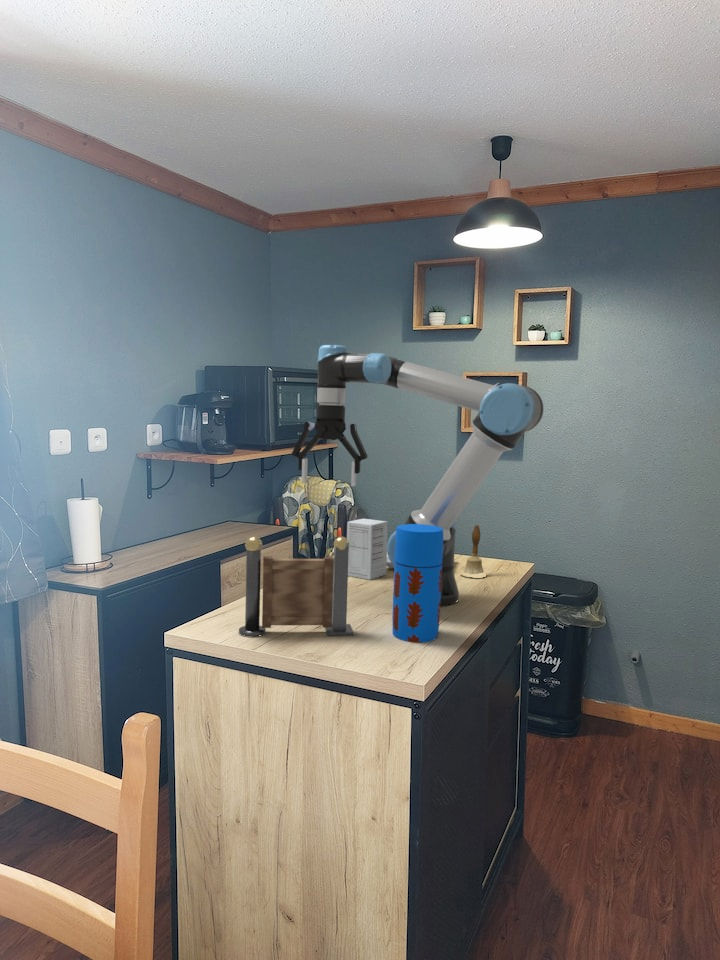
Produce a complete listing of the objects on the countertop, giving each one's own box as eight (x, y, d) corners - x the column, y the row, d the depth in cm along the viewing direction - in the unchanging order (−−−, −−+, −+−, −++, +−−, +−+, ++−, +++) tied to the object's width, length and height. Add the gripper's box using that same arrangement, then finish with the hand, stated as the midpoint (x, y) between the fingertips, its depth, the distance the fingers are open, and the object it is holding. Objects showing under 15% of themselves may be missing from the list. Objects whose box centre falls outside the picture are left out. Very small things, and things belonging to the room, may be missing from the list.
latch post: (327, 635, 162) (329, 539, 160) (324, 627, 168) (327, 534, 166) (353, 635, 163) (356, 539, 161) (350, 627, 169) (353, 534, 167)
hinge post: (269, 629, 165) (271, 535, 163) (260, 638, 159) (262, 539, 157) (244, 627, 166) (246, 533, 164) (234, 635, 161) (236, 538, 158)
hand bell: (467, 571, 230) (470, 522, 229) (491, 575, 226) (494, 525, 224) (455, 575, 224) (458, 525, 222) (479, 580, 219) (482, 528, 217)
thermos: (436, 644, 159) (441, 533, 156) (388, 640, 161) (392, 530, 158) (440, 629, 170) (445, 525, 167) (395, 625, 172) (400, 522, 169)
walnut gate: (262, 627, 162) (263, 558, 160) (262, 624, 164) (263, 556, 162) (331, 627, 164) (333, 558, 162) (330, 624, 166) (332, 556, 164)
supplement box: (387, 575, 222) (389, 521, 220) (370, 580, 214) (372, 525, 212) (361, 570, 227) (363, 517, 225) (344, 575, 219) (346, 521, 217)
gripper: (379, 406, 191) (377, 485, 193) (290, 403, 196) (288, 480, 198) (374, 406, 183) (371, 488, 186) (281, 402, 188) (279, 483, 191)
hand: (328, 484), depth 192 cm, fingers open, 13 cm apart
